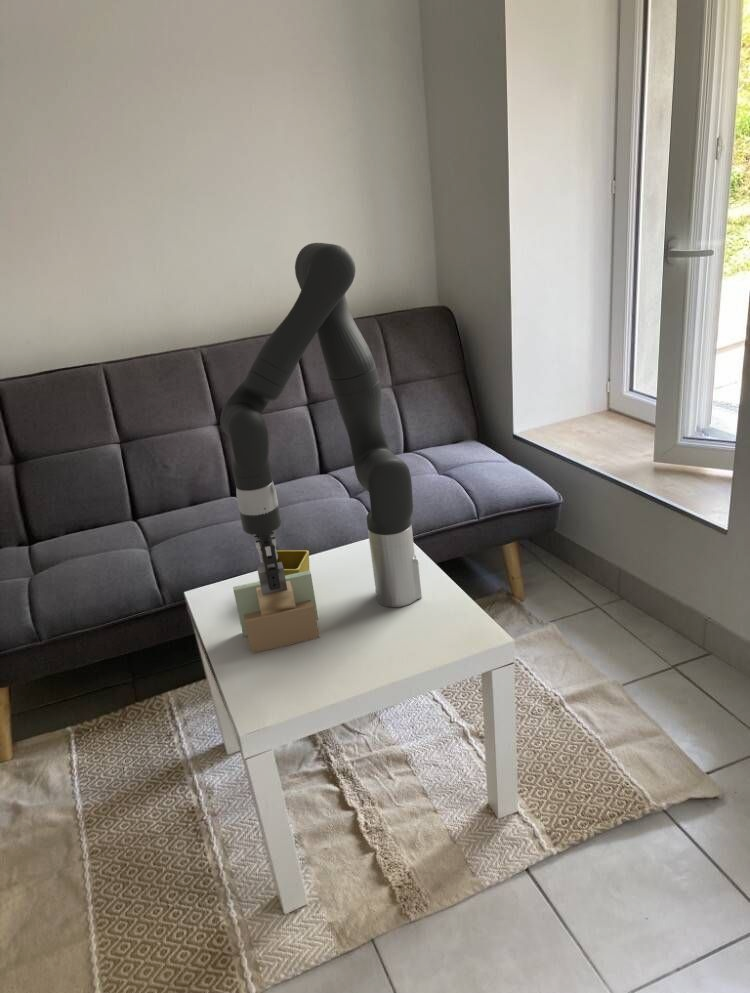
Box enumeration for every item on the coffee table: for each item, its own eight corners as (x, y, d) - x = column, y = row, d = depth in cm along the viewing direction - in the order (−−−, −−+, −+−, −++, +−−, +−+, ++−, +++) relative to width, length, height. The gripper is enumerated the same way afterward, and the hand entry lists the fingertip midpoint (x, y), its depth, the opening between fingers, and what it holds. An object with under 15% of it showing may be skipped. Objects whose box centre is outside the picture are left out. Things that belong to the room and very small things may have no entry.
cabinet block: (294, 605, 163) (286, 558, 159) (297, 616, 159) (289, 569, 155) (260, 612, 162) (251, 566, 158) (263, 624, 158) (253, 576, 153)
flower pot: (304, 605, 173) (298, 569, 169) (266, 605, 175) (259, 569, 171) (315, 584, 180) (309, 550, 177) (279, 584, 182) (272, 550, 179)
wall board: (317, 615, 168) (309, 570, 164) (324, 636, 160) (316, 589, 156) (242, 632, 165) (233, 587, 161) (246, 654, 158) (236, 607, 153)
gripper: (282, 515, 145) (296, 591, 151) (273, 488, 158) (286, 559, 164) (242, 523, 144) (257, 600, 150) (236, 495, 156) (250, 567, 163)
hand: (272, 578), depth 157 cm, fingers open, 8 cm apart
